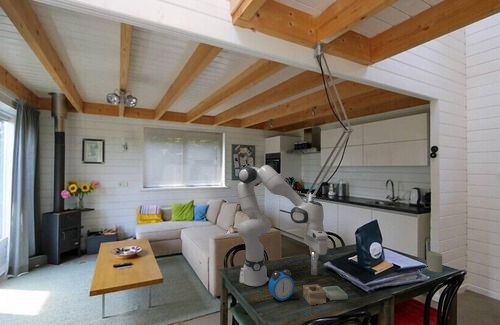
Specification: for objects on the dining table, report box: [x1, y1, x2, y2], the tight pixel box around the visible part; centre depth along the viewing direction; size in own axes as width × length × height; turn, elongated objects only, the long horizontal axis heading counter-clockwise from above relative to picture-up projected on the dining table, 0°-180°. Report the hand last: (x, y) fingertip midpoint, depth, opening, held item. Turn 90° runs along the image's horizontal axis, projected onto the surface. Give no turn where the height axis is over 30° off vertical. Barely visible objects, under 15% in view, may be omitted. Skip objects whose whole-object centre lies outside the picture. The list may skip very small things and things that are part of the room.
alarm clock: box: [268, 269, 295, 302], centre depth 137 cm, size 13×6×15 cm, turn 113°
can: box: [425, 250, 443, 274], centre depth 177 cm, size 9×9×12 cm
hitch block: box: [302, 283, 327, 306], centre depth 135 cm, size 9×9×6 cm
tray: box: [321, 285, 349, 302], centre depth 141 cm, size 10×10×2 cm
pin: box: [310, 249, 318, 276], centre depth 136 cm, size 3×3×14 cm
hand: (314, 257), depth 136 cm, fingers closed on pin, 3 cm apart
